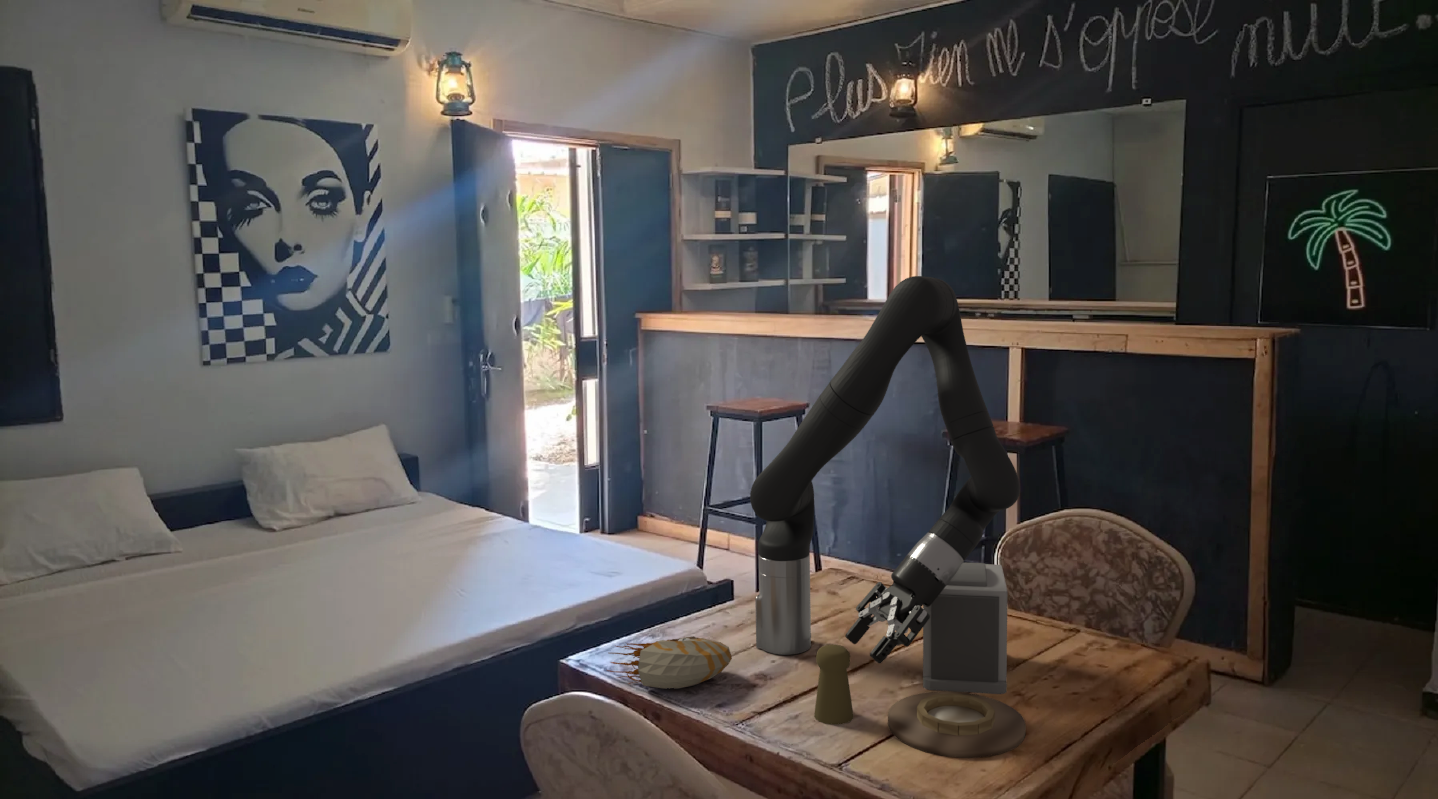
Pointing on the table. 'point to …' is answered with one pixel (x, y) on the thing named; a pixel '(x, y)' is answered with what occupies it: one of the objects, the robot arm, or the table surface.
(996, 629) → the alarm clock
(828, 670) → the cork
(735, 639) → the table surface
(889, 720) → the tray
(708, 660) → the nautilus
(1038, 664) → the table surface
